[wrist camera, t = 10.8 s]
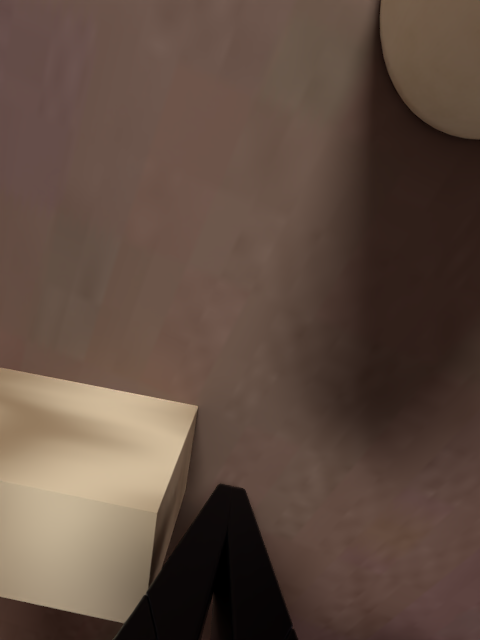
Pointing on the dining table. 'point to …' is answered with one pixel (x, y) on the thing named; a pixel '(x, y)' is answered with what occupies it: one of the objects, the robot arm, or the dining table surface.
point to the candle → (435, 60)
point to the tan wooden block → (87, 492)
